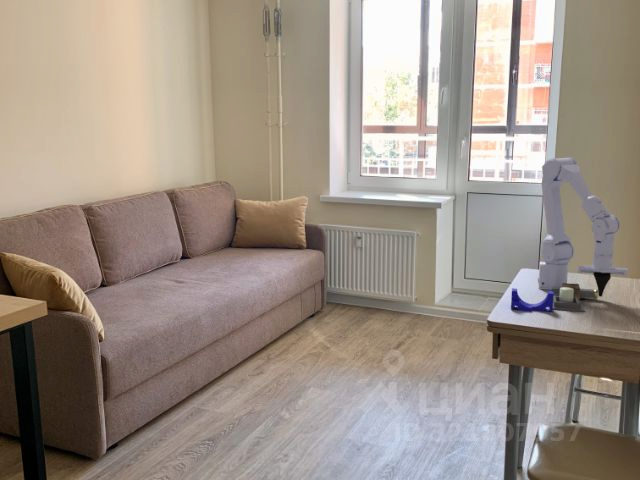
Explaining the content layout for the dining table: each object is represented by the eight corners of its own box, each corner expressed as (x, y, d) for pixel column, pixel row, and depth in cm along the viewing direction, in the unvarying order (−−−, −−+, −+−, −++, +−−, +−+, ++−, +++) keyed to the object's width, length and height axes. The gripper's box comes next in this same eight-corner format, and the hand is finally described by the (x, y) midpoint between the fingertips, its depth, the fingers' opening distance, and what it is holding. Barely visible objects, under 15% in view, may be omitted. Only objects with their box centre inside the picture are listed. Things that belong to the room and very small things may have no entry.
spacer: (559, 306, 206) (560, 290, 205) (558, 302, 210) (559, 287, 209) (573, 306, 205) (574, 291, 204) (571, 303, 209) (572, 287, 208)
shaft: (551, 297, 217) (552, 288, 216) (551, 294, 220) (551, 285, 219) (597, 300, 213) (597, 291, 212) (596, 297, 216) (596, 288, 215)
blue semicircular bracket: (510, 311, 204) (511, 292, 202) (511, 307, 208) (512, 288, 207) (552, 314, 200) (553, 295, 199) (551, 310, 204) (553, 291, 203)
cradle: (549, 309, 205) (549, 302, 204) (548, 300, 214) (548, 294, 214) (584, 311, 202) (584, 305, 201) (581, 302, 211) (582, 296, 211)
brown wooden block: (562, 300, 214) (563, 287, 214) (561, 294, 220) (562, 283, 220) (579, 301, 213) (580, 289, 212) (577, 295, 219) (578, 284, 218)
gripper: (579, 255, 210) (576, 297, 212) (630, 258, 206) (626, 300, 208) (578, 250, 216) (575, 291, 219) (626, 253, 212) (623, 294, 215)
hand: (600, 295), depth 214 cm, fingers closed
